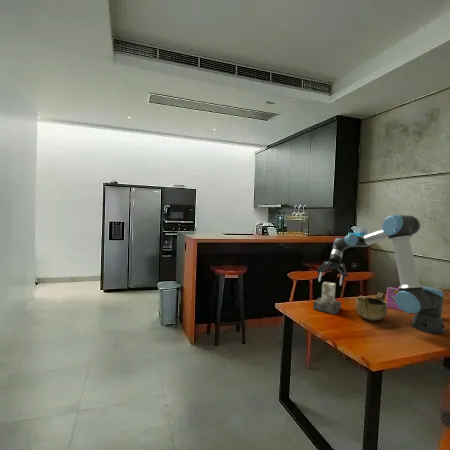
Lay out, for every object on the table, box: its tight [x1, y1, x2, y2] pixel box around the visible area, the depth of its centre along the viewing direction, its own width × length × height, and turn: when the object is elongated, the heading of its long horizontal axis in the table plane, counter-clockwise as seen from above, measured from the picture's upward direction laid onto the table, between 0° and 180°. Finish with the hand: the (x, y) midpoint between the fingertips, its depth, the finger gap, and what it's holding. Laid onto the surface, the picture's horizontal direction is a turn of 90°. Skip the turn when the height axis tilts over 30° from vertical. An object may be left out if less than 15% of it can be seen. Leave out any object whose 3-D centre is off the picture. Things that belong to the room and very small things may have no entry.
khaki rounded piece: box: [355, 291, 388, 322], centre depth 177 cm, size 22×17×15 cm
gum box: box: [386, 285, 416, 315], centre depth 197 cm, size 24×8×14 cm, turn 45°
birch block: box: [321, 281, 337, 304], centre depth 192 cm, size 7×7×12 cm
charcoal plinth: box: [312, 296, 342, 315], centre depth 192 cm, size 14×14×5 cm
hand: (329, 282), depth 195 cm, fingers open, 13 cm apart
